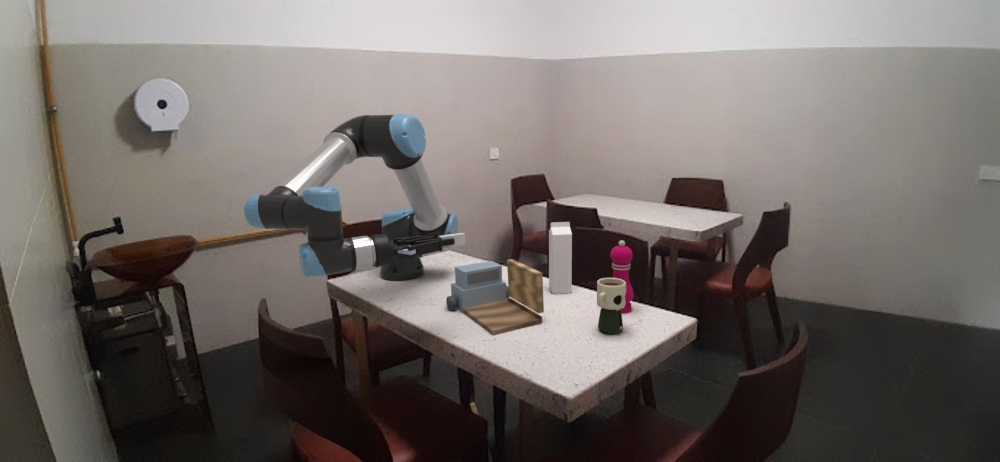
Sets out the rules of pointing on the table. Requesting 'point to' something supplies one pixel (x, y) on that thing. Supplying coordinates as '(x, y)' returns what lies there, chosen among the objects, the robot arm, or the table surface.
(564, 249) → the milk
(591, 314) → the table surface
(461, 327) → the table surface
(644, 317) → the table surface
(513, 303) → the flatbed
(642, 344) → the table surface
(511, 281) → the side gate
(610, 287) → the character mug
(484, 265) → the cab
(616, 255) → the pepper mill
